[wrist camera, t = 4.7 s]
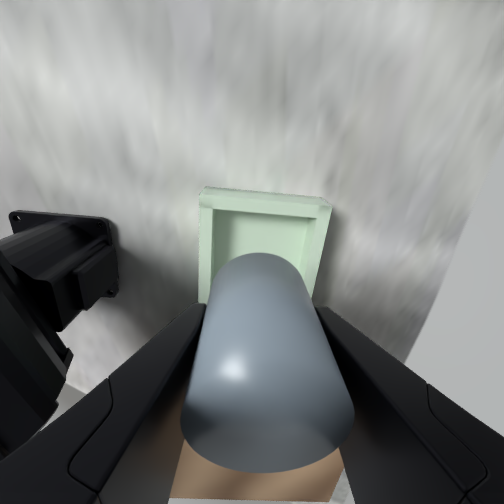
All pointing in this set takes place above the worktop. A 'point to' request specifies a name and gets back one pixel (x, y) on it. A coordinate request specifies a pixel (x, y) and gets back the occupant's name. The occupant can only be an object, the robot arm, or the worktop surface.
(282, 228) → the tray
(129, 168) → the worktop surface
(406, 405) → the robot arm
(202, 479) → the shelf
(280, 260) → the grey rounded cylinder
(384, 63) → the worktop surface
